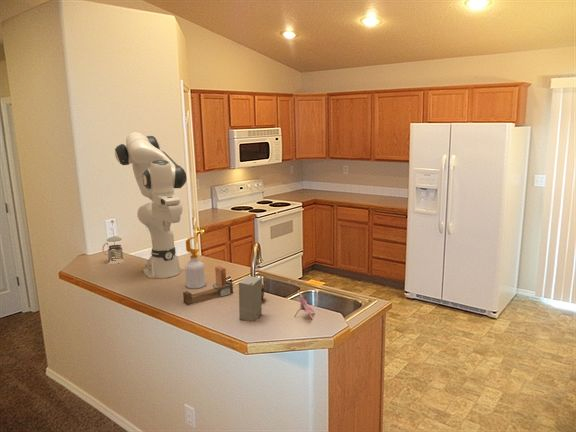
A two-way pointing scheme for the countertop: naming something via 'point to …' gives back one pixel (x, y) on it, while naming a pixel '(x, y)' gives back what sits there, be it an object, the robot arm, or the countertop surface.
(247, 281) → the skincare box
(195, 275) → the soap bottle
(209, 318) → the countertop surface
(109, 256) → the french press
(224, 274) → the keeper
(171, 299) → the countertop surface
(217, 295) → the rail
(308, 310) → the lily
